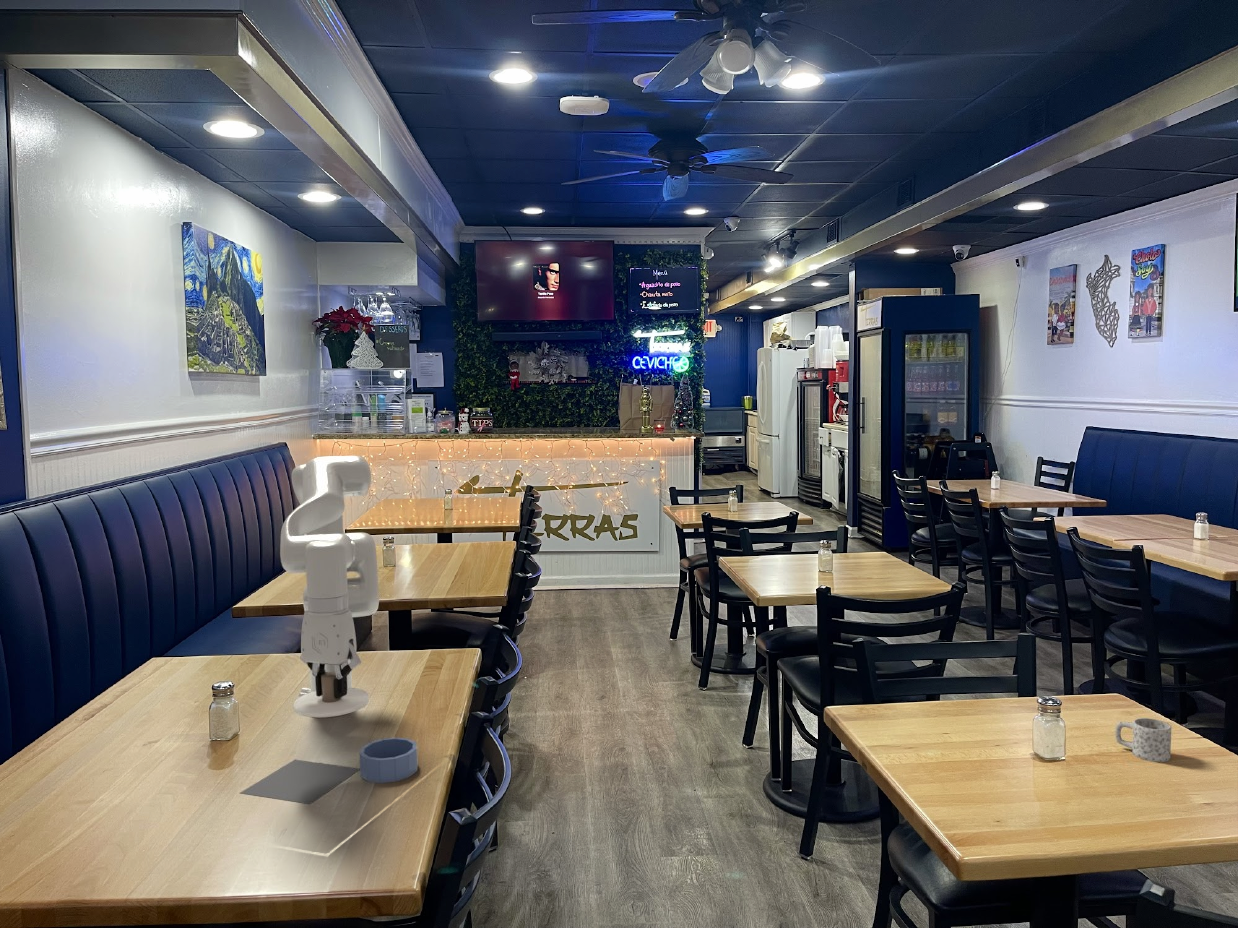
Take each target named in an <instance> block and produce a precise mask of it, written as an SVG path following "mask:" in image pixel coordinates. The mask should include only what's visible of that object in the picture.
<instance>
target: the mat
mask: <svg viewBox="0 0 1238 928" xmlns="http://www.w3.org/2000/svg"><path fill="white" fill-rule="evenodd" d="M359 771H360V767H359V768H357V767H353V766H345V765H338V764H332V763H331V764H329V763H322V762H316V761H315V762H314V761H308V760H302V759H301V760H300V759H293V760H292V761H290V762H288V763H287V764H285V765H283V766H282V767H280V768H278V769H277V770H275V771H273V772H272V773H270V774H268V775H267V776H265V777H263V778H262V779H260V780H259V781H257V782H255V783H254V784H252V785H250V786H248V788H246V789H244V790H242V791H241V792H239V794H242V795H249V796H256V797H261V798H268V799H274V800H281V801H287V802H292V803H301V804H306V805H311V804H313V803H314V802H316V801H317V800H319V799H320V798H322V797H323V796H324V795H326V794H327V793H329V792H330V791H332V790H333V789H334V788H336V787H337V786H339V785H341V784H342V783H344V781H346V780H348V779H349V778H350V777H352V776H353V775H354V774H356V773H358V772H359Z"/></svg>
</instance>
